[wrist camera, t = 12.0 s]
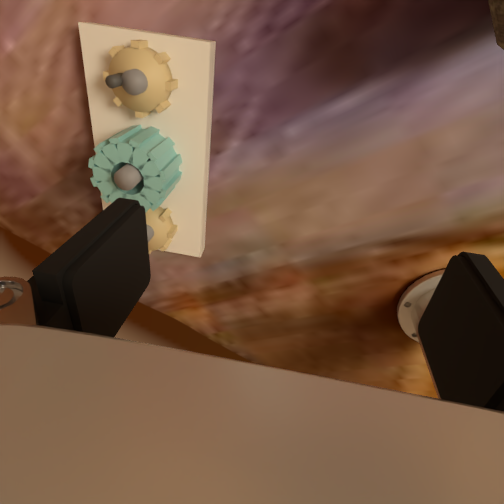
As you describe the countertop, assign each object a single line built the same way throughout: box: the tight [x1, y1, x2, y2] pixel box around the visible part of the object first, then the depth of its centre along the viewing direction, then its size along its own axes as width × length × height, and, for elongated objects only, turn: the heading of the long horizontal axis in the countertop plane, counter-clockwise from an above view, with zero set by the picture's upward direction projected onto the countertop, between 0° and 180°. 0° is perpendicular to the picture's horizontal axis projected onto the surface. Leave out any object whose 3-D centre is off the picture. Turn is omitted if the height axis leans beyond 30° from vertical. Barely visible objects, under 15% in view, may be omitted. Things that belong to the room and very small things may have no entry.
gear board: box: [78, 22, 216, 257], centre depth 35 cm, size 12×23×8 cm, turn 173°
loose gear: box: [88, 124, 182, 212], centre depth 35 cm, size 8×8×5 cm
